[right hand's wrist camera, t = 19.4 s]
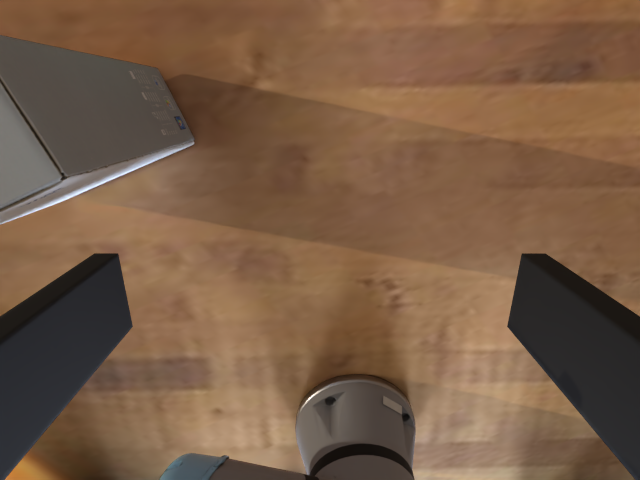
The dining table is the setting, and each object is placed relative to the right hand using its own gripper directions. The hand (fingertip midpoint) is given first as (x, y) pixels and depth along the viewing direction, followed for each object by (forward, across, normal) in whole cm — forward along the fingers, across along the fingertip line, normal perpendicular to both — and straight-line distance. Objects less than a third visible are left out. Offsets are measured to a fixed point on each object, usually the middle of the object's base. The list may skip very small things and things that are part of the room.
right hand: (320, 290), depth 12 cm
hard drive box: (+27, +21, -3) cm, 34 cm away
